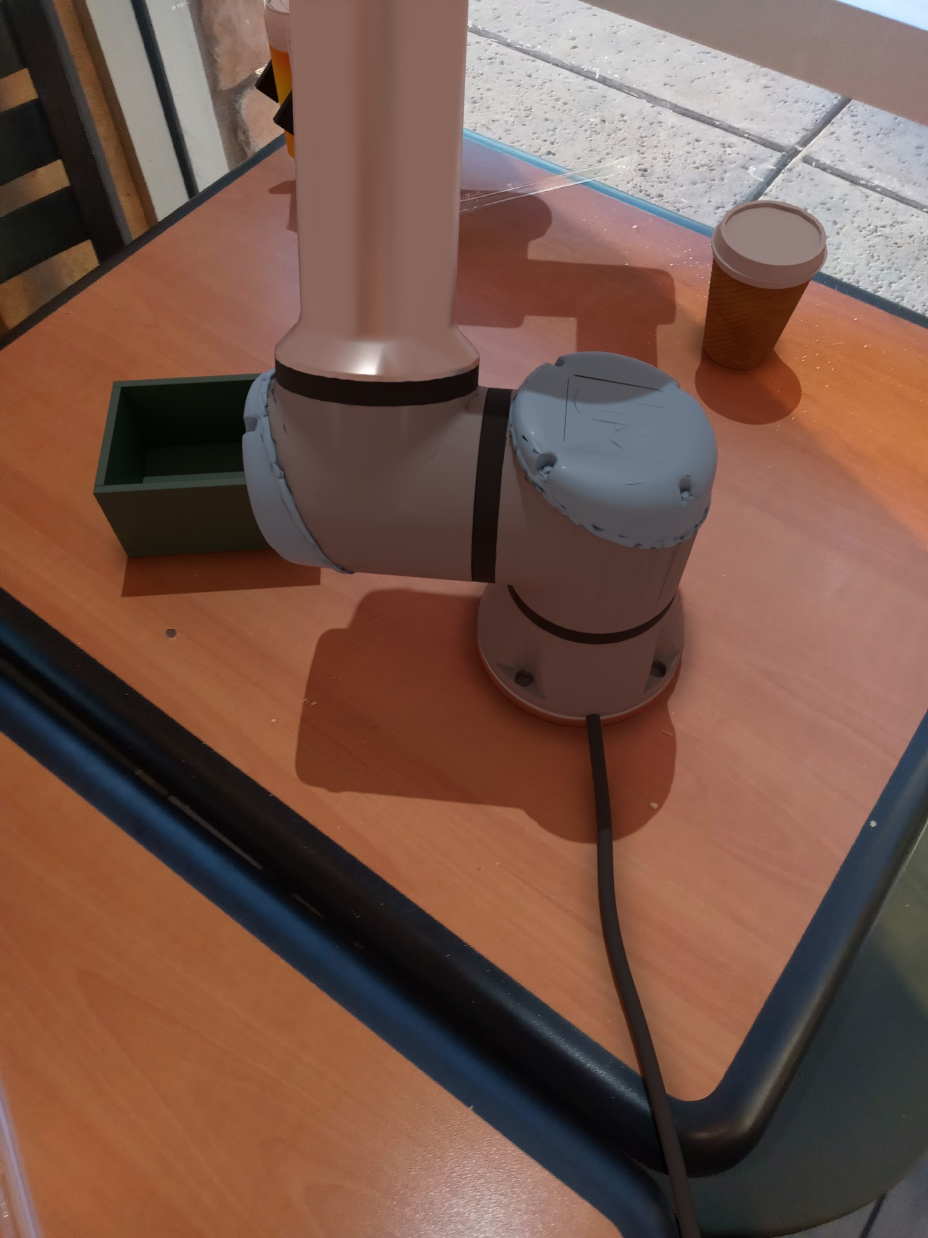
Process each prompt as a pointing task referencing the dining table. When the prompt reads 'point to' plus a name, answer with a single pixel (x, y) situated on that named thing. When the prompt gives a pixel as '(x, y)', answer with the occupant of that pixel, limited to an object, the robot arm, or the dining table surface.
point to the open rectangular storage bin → (177, 466)
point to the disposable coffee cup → (758, 278)
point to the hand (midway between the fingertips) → (275, 110)
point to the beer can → (280, 53)
